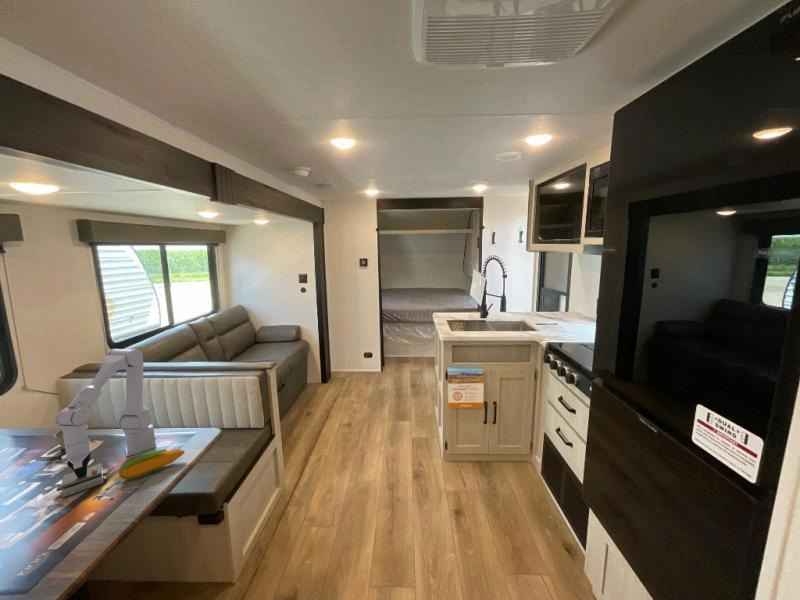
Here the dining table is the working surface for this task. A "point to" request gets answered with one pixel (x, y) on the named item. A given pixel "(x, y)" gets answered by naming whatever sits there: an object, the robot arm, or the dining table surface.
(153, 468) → the corn
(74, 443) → the robot arm
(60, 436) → the flower pot
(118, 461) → the dining table surface
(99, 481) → the cooker
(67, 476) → the lid
